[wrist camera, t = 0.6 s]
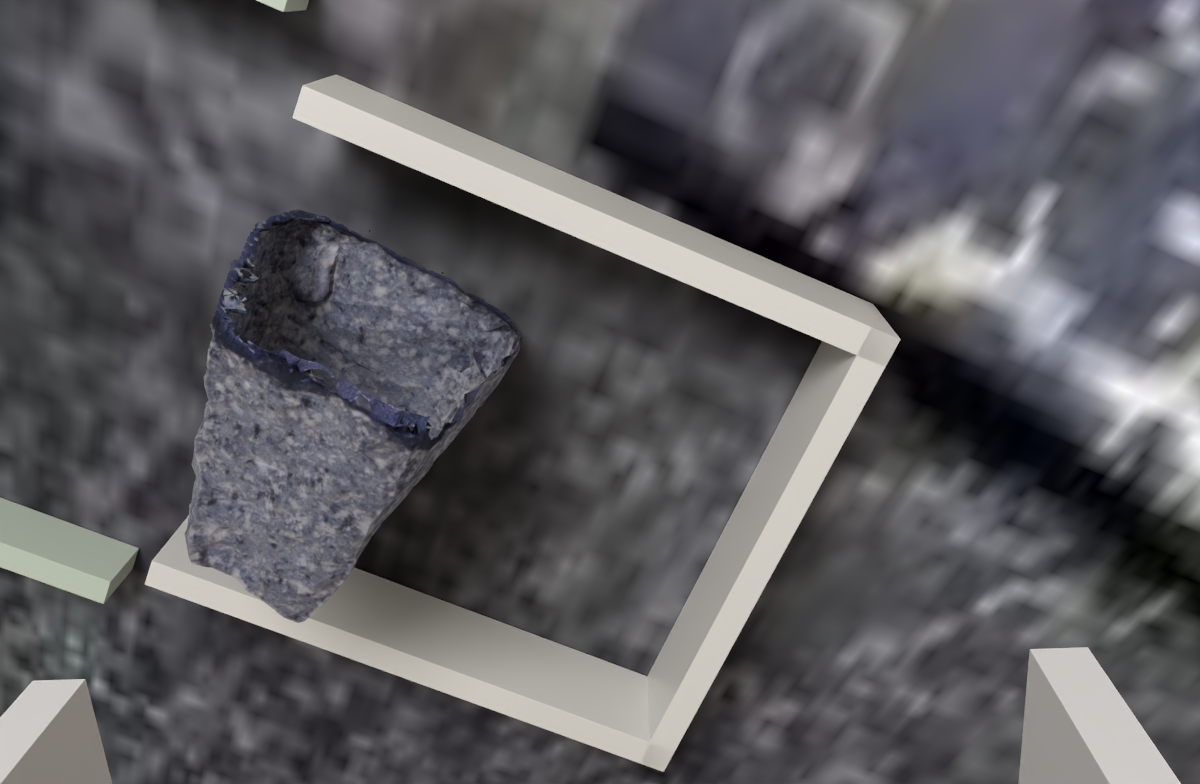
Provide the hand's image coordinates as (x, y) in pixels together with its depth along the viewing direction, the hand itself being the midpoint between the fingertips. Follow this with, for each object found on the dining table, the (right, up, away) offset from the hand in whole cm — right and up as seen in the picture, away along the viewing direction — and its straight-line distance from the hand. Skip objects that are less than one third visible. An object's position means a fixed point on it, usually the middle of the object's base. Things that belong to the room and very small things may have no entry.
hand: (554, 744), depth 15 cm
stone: (-8, +6, +24) cm, 26 cm away
